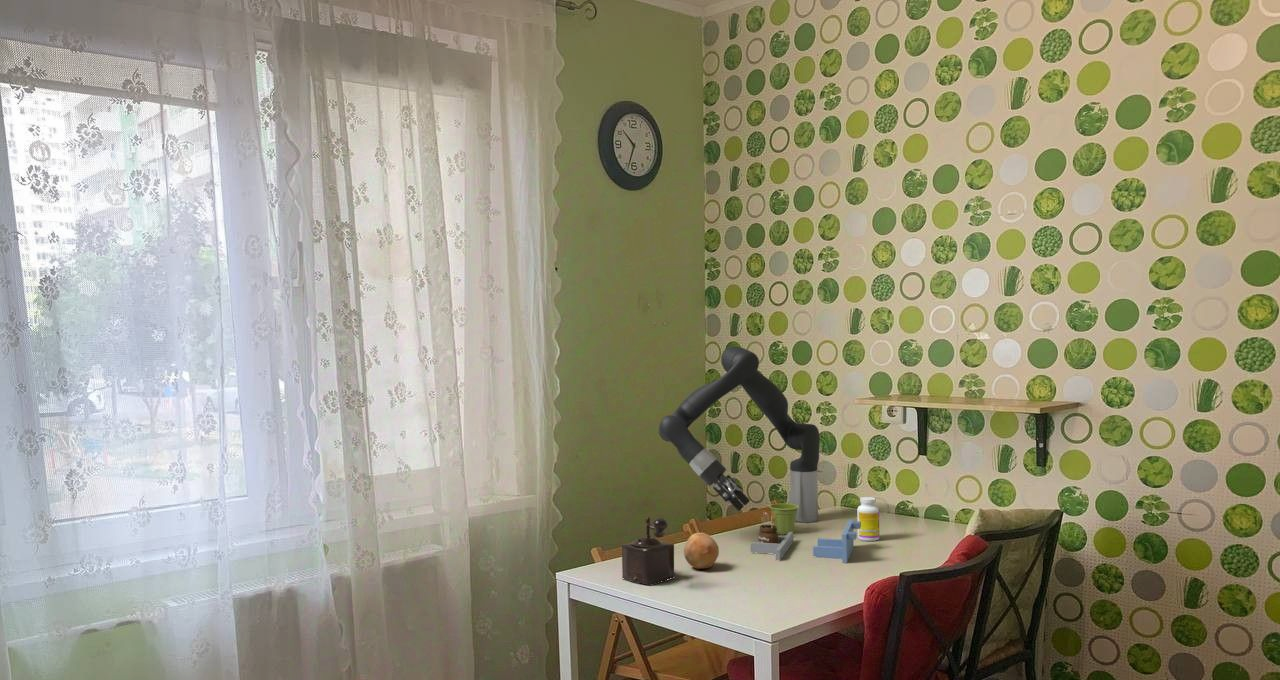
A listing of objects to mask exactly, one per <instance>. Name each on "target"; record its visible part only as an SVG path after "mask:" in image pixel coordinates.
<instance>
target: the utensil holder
mask: <svg viewBox="0 0 1280 680" xmlns="http://www.w3.org/2000/svg"><path fill="white" fill-rule="evenodd" d="M764 514H766V515H764V518H760V519H761V523H762V525H760V526H759V529H758V530H759V532H758V535H759V537H758V539H759V543H776V544H778V536H779V534H778V533H777V532H776V531H777V527H776V526H775V525H774V523H773V522H774V521H775V519H776V512H774V514H775V517H774V514H773V512H771V517H770V522H771V524H769V518H767V516H769V514H768V512H766V511H764ZM766 518H767V519H766ZM764 521H766V524H765V523H764Z"/></svg>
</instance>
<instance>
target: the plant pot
mask: <svg viewBox="0 0 1280 680" xmlns="http://www.w3.org/2000/svg"><path fill="white" fill-rule="evenodd" d="M768 507H769V508H770V512H771V513H772V512H773V514H774V512H776V519H775V521H774V522H773V525H775V526H776V527H777V531H776V532H777V533H778V535H787V534H788V533H789V532H793V534H794V532H795V525H796V521H795V518H796V513H797V509H798V508H799V506H798V505H794V504H789V503H772V504H769V506H768ZM774 517H775V514H774Z"/></svg>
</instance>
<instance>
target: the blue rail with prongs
mask: <svg viewBox="0 0 1280 680" xmlns="http://www.w3.org/2000/svg"><path fill="white" fill-rule="evenodd" d="M860 528H861V522H859V521H857V520H854V519H849V520H848V522H847V524H846V525H845V528H844V530H843V531H842V534H841V538H840V539H838V538H825V537H824V538H822V537H820V538H819V537H818V538H817V545H813V546H812V557H813V556H816V557H815V558H822V557H828V558H827V559H838V558H841V560H842V564H848V561H849V559H850V556H851V554H852V552H851V551H853V548H854V547H855V546H854V541H856V540H857V539H858V533H857V531H854V530H858V529H860ZM853 546H854V547H853Z"/></svg>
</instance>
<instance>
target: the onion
mask: <svg viewBox="0 0 1280 680" xmlns="http://www.w3.org/2000/svg"><path fill="white" fill-rule="evenodd" d="M717 543H718V542H717V541H716V540H715V539H714V538H713V537H712V536H710V535H709V534H707V533H706V532H695V533H693V534H691V535H690V536H689V538H687V540H686V542H685V545H684V547H683V548H684V549H683V556H684V559H685V560H686V563H688V564H689V566H691V567H692V568H695V569H698V570H700V569H709V568H711V567H712V566H714V565H715V563H716V561H717V559H718V557H719V553H720V552H719V551H720V549H719V546H718V544H717Z"/></svg>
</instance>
